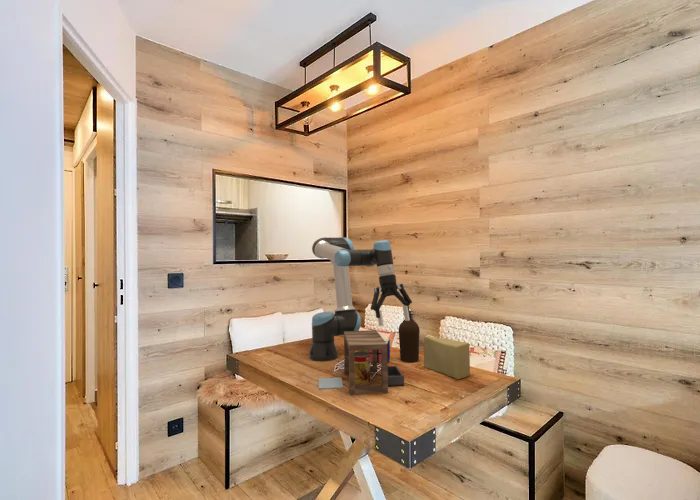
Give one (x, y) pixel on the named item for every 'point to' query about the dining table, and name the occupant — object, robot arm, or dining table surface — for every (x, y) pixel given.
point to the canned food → (362, 368)
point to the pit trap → (394, 376)
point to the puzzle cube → (379, 353)
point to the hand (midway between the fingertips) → (394, 323)
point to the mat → (330, 383)
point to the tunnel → (374, 343)
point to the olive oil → (409, 340)
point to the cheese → (447, 356)
